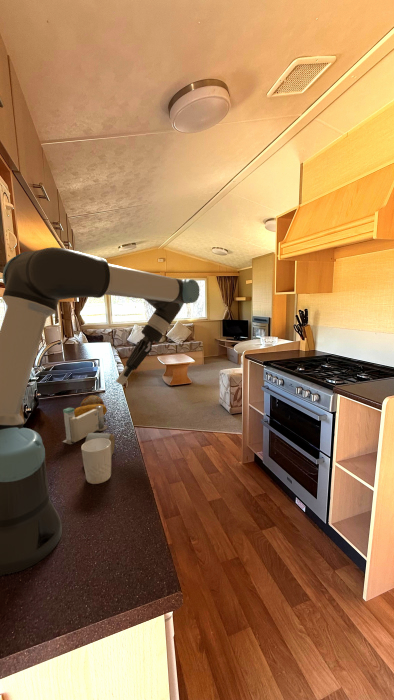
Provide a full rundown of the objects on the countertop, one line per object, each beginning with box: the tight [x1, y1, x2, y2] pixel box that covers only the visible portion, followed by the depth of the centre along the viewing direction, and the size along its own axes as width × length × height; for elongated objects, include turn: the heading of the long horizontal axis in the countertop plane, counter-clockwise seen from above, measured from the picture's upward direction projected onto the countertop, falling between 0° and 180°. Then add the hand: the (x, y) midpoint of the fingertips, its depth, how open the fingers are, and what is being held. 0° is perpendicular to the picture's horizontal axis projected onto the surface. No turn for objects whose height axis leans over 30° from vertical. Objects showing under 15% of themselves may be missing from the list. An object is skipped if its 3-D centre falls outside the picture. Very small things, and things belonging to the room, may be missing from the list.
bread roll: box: [80, 394, 105, 407], centre depth 139 cm, size 10×10×8 cm
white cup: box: [80, 438, 112, 485], centre depth 85 cm, size 8×8×10 cm
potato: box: [74, 404, 108, 417], centre depth 126 cm, size 8×14×7 cm, turn 108°
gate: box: [70, 409, 99, 443], centre depth 110 cm, size 12×2×9 cm, turn 155°
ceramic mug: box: [84, 432, 116, 456], centre depth 98 cm, size 11×8×8 cm
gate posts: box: [62, 405, 108, 445], centre depth 112 cm, size 18×5×12 cm, turn 144°
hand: (119, 383), depth 108 cm, fingers closed
